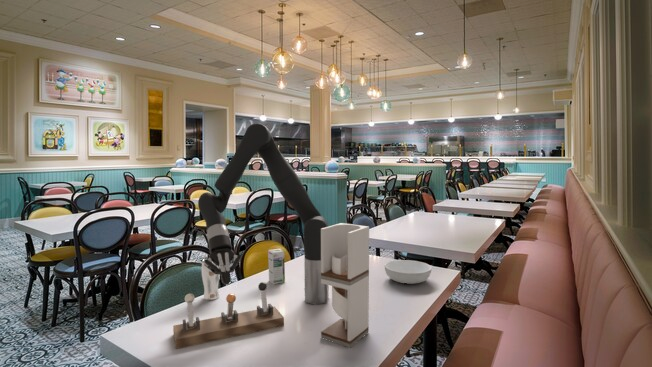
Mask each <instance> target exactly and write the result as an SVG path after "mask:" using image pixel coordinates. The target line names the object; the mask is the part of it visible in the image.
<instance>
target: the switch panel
mask: <svg viewBox="0 0 652 367" xmlns="http://www.w3.org/2000/svg"><path fill="white" fill-rule="evenodd" d="M267 307H269V313H267V314H262V309H261V308H262V306H260V305H256V309H253V310H248V311H242V312H239V313H238V311H237V310H236V309H235V310H234V309H233V314H234V320H231V321H226V316H225V315H226V314H225V312H224V311H223V312H221V313H220V314H221V315H220V316H218V317H217V316H216V317H213V318H206V319H201V320H200V318H199V316H196V317H195V322H196V328H190V329H187V321H186V318H185V319H182V323H180V324H174V325H172V327H173V332H172V333H173V340H174V345H175V349H176V350H177V349H183V348H187V347H193V346H197V345H202V344H206V343H210V342H214V341H215V342H216V341H220V340H225V339H229V338H235V337H238V336H244V335H248V334H253V333H256V332H257V333H258V332H262V331H267V330H272V329H276V328H281V327H285V317H284V316H283V315H282V313H281V312H280V311H279V310H278V309H277V307H275V306H273V305H272V304H271V303H267Z"/></svg>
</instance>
